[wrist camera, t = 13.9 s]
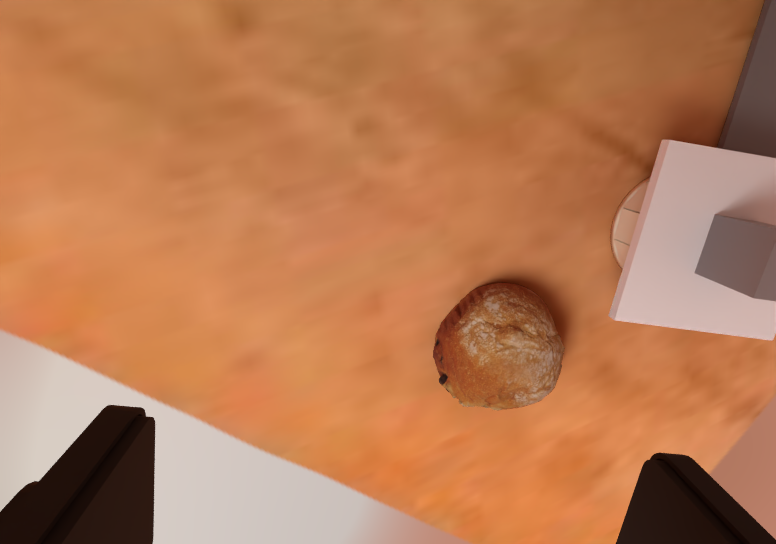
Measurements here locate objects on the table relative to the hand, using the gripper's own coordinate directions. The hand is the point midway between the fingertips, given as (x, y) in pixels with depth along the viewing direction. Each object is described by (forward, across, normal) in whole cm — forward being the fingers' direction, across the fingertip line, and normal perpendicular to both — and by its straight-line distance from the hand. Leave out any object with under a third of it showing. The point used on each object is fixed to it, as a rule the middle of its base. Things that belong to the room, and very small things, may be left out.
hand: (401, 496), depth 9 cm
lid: (+23, -24, -2) cm, 33 cm away
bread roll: (+29, -12, +9) cm, 32 cm away
